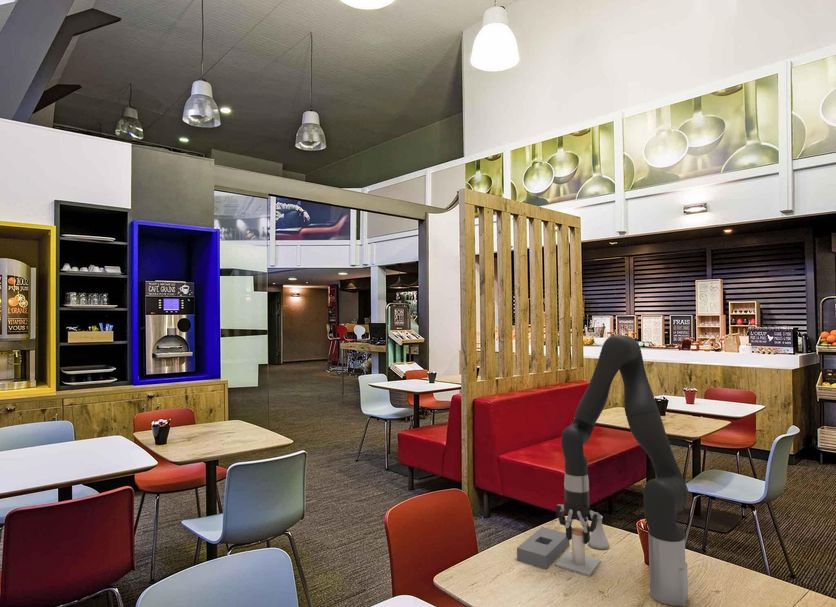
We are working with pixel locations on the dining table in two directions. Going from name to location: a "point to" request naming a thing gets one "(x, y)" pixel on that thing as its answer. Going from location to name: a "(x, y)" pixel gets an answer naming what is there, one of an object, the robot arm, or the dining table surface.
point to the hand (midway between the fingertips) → (577, 540)
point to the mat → (582, 569)
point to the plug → (578, 546)
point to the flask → (598, 536)
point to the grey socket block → (543, 547)
